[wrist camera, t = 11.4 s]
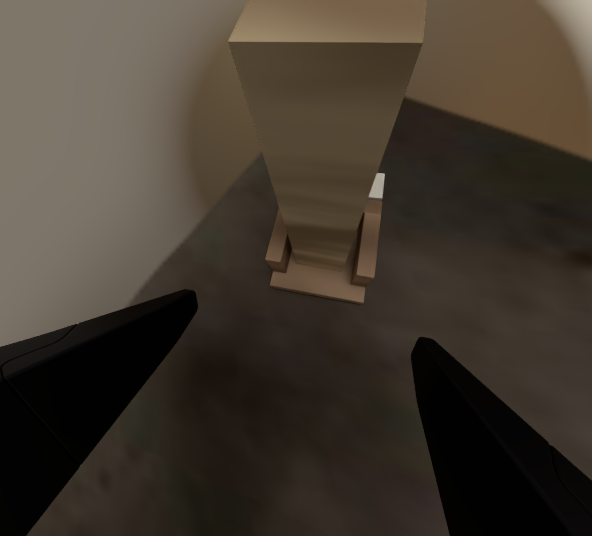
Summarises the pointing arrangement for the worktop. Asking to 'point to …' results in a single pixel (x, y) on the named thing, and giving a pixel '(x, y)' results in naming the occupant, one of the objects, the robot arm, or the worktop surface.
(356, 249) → the walnut cradle
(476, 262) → the worktop surface
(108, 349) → the robot arm
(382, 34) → the oak peg
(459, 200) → the worktop surface
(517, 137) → the worktop surface
